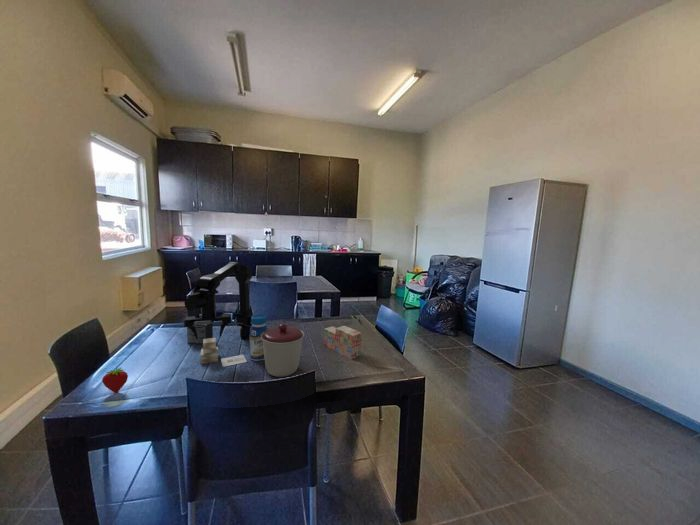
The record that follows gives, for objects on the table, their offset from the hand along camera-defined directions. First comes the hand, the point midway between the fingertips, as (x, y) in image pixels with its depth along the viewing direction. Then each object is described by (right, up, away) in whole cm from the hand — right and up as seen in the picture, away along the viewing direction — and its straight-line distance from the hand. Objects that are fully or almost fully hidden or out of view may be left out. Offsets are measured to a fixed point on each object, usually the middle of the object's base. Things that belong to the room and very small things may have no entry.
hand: (208, 338), depth 131 cm
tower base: (0, -10, +2) cm, 10 cm away
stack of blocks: (+59, -11, +17) cm, 63 cm away
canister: (+35, -13, -6) cm, 37 cm away
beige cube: (0, -6, +1) cm, 6 cm away
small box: (-14, -7, +19) cm, 25 cm away
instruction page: (+11, -11, +1) cm, 15 cm away
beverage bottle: (+21, -11, +6) cm, 24 cm away
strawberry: (-21, -13, -26) cm, 36 cm away
